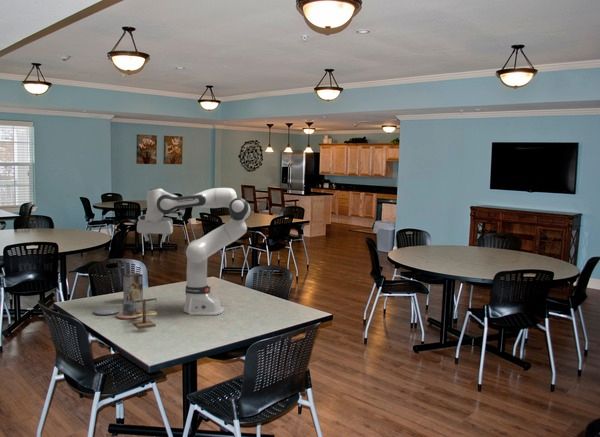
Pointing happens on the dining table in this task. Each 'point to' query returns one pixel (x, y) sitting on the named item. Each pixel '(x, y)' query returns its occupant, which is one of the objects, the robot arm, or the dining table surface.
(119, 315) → the terracotta dish
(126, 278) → the coffee box
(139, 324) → the balance
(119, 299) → the dining table surface
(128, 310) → the block
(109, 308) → the grey dish
